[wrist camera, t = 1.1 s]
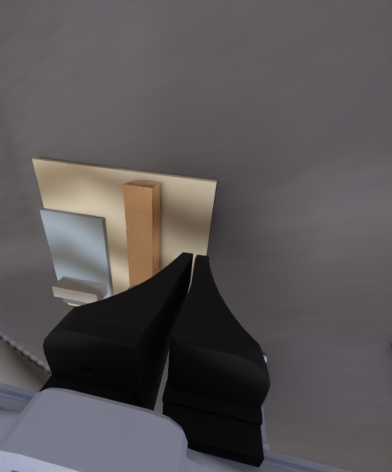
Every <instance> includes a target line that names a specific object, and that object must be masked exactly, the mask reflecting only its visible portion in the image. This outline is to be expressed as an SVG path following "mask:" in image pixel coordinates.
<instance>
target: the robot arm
mask: <svg viewBox="0 0 392 472" xmlns="http://www.w3.org/2000/svg"><path fill="white" fill-rule="evenodd" d="M192 263H193V253H187V252H183V253H181V254H180V255H179V256H178V257H177V258H176V259H174V260H173V261H172V262H171V263H170V264H169V265H167V266H166V267H165V268H164V269H162V270H161V271H159V272H158V273H157V274H155V275H154V276H152V277H151V278H149V279H148V280H146V281H144V282H142V283H140V284H139V285H137V286H134V287H132V288H130V289H128V290H126V291H124V292H121V293H119V294H116V295H113V296H111V297H108V298H105V299H102V300H99V301H95V302H92V303H88V304H85V305H81V306H77V307H74V308H73V309H72V310H71V311H70V312H69V313H68V314H67V315H66V316H65V317H64V318H63V319H62V320H61V322H60V323H59V324H58V325H57V326H56V327H55V328H54V329H53V330H52V331H51V332H50V333H49V335H48V336H47V337H46V338H45V339H44V343H43V348H44V354H45V356H46V359H47V362H48V364H49V367H50V370H51V372H52V376H51V377H50V378H49V380H48V381H47V382H46V384H45V385H44V386H43V387H42V389H41V390H40V391H39V392H36V391H32V390H28V389H24V388H19V387H16V386H12V385H8V384H4V383H0V472H352V471H349V470H345V469H341V468H337V467H333V466H329V465H325V464H321V463H317V462H313V461H309V460H305V459H301V458H297V457H293V456H289V455H285V454H281V453H277V452H273V451H270V449H269V444H267V436H266V428H265V420H264V411H263V402H264V400H265V398H266V396H267V394H268V391H269V387H270V380H269V374H268V370H267V366H266V361H267V357H266V355H263V353H262V350H261V348H260V345H259V344H258V343H257V342H256V341H255V340H254V339H253V338H252V337H251V336H250V335H249V334H248V333H247V332H246V331H245V330H244V328H243V327H242V326H241V325H240V324H239V322H238V321H237V320H236V318H235V317H234V316H233V314H232V313H231V311H230V310H229V309H228V307H227V305H226V304H225V302H224V300H223V299H222V297H221V295H220V293H219V291H218V289H217V286H216V284H215V282H214V279H213V276H212V273H211V269H210V265H209V257H208V256H205V255H199V254H197V255H196V258H195V261H194V268H193V275H192V281H191V272H192ZM190 282H191V285H190ZM189 286H190V288H189ZM188 290H189V291H188ZM169 348H170V349H169ZM168 351H169V367H168V379H167V382H166V386H165V390H164V394H163V398H162V401H163V414H160V413H157V412H155V411H154V407H155V403H156V399H157V395H158V391H159V387H160V383H161V379H162V375H163V371H164V367H165V363H166V359H167V355H168Z"/></svg>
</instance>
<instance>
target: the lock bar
mask: <svg viewBox="0 0 392 472" xmlns="http://www.w3.org/2000/svg"><path fill="white" fill-rule="evenodd" d="M123 190H124V206H125V221H126V237H127V253H128V268H129V284H130V286H129V288H128V289H130V288H132V287H134V286H137V285H139V284H140V283H142V282H144V281H146V280H148V279H149V278H151V277H152V276H154V275H155V274H157V273H158V272H159V222H160V183H154V182H146V181H139V180H132V181H130V182H127V183H125V184H123ZM128 289H127V290H128Z"/></svg>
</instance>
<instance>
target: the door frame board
mask: <svg viewBox="0 0 392 472" xmlns="http://www.w3.org/2000/svg"><path fill="white" fill-rule="evenodd" d="M32 160H33V164H34V168H35V173H36V177H37V181H38V185H39V189H40V193H41V197H42V201H43V205H44V208H43V209H40V213H41V217H42V221H43V225H44V229H45V232H46V236H47V240H48V244H49V248H50V252H51V255H52V259H53V263H54V267H55V271H56V275H57V278H58V282H56V283H55V284H54V285H53V286H52V289H53V292H54V296H56V297H61V298H63V302H66V303H68V304H69V305H74V306H81V305H85V304H88V303H92V302H95V301H99V300H102V299H105V298H108V297H111V296H113V295H116V294H119V293H121V292H124V291H126V290H127V289H128V288H129V286H130V284H129V268H128V253H127V237H126V221H125V206H124V190H123V184H125V183H127V182H130V181H132V180H139V181H146V182H154V183H160V222H159V271H161V270H162V269H164V268H165V267H166V266H167V265H169V264H170V263H171V262H172V261H173V260H174V259H176V258H177V257H178V256H179V255H180V254H181V253H183V252H187V253H193V263H192V272H191V281H192V275H193V268H194V261H195V258H196V255H197V254H199V255H205V256H207V249H208V241H209V234H210V227H211V220H212V213H213V205H214V198H215V191H216V184H217V180H210V179H202V178H194V177H186V176H178V175H171V174H163V173H155V172H147V171H139V170H131V169H123V168H115V167H107V166H99V165H91V164H84V163H76V162H68V161H60V160H52V159H44V158H36V159H32ZM190 285H191V282H190ZM189 288H190V286H189ZM188 291H189V290H188Z"/></svg>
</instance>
